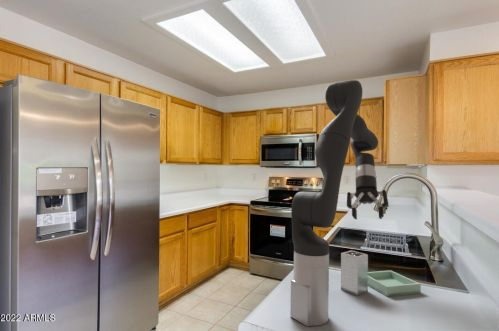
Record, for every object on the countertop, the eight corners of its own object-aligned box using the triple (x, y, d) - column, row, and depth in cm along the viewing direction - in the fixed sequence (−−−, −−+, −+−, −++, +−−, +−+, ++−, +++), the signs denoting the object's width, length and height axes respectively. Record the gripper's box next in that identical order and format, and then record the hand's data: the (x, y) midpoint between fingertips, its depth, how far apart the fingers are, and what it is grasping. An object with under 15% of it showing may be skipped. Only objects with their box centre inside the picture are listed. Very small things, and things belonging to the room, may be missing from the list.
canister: (357, 296, 86) (357, 257, 86) (340, 289, 91) (341, 253, 91) (367, 291, 90) (367, 254, 90) (351, 285, 94) (351, 250, 95)
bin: (387, 296, 86) (387, 287, 86) (360, 281, 99) (360, 272, 99) (420, 293, 89) (420, 283, 89) (390, 278, 102) (390, 270, 102)
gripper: (344, 176, 108) (345, 215, 101) (384, 172, 101) (388, 214, 94) (349, 183, 114) (349, 221, 106) (387, 180, 106) (390, 221, 99)
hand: (367, 218), depth 100 cm, fingers open, 8 cm apart
